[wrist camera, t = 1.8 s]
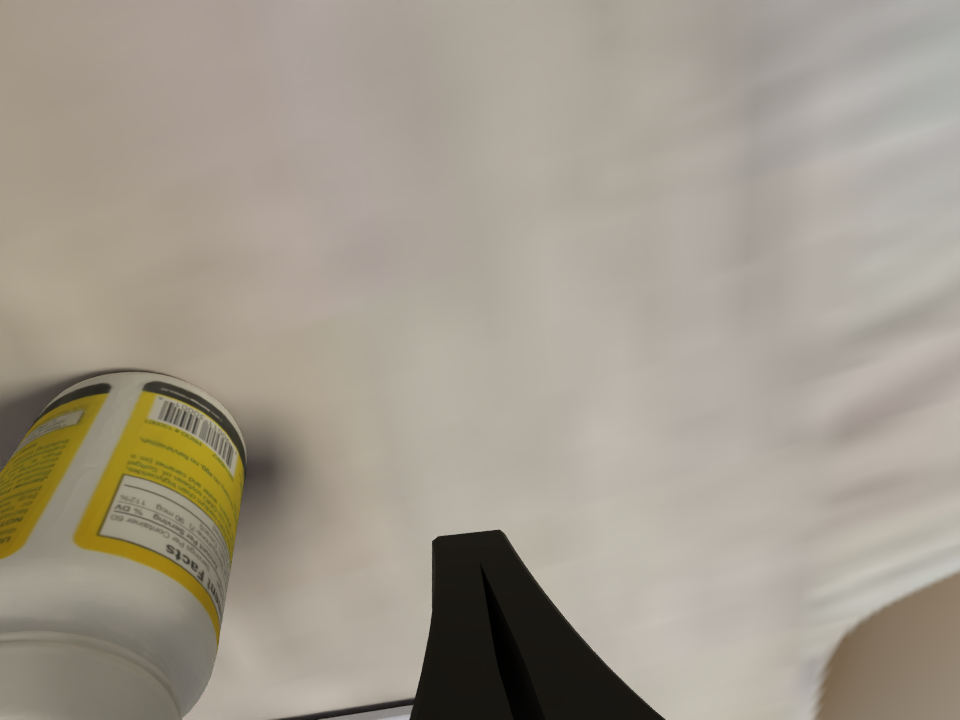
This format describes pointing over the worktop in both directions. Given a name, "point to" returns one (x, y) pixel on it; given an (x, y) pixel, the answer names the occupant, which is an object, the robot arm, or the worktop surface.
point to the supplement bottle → (117, 550)
